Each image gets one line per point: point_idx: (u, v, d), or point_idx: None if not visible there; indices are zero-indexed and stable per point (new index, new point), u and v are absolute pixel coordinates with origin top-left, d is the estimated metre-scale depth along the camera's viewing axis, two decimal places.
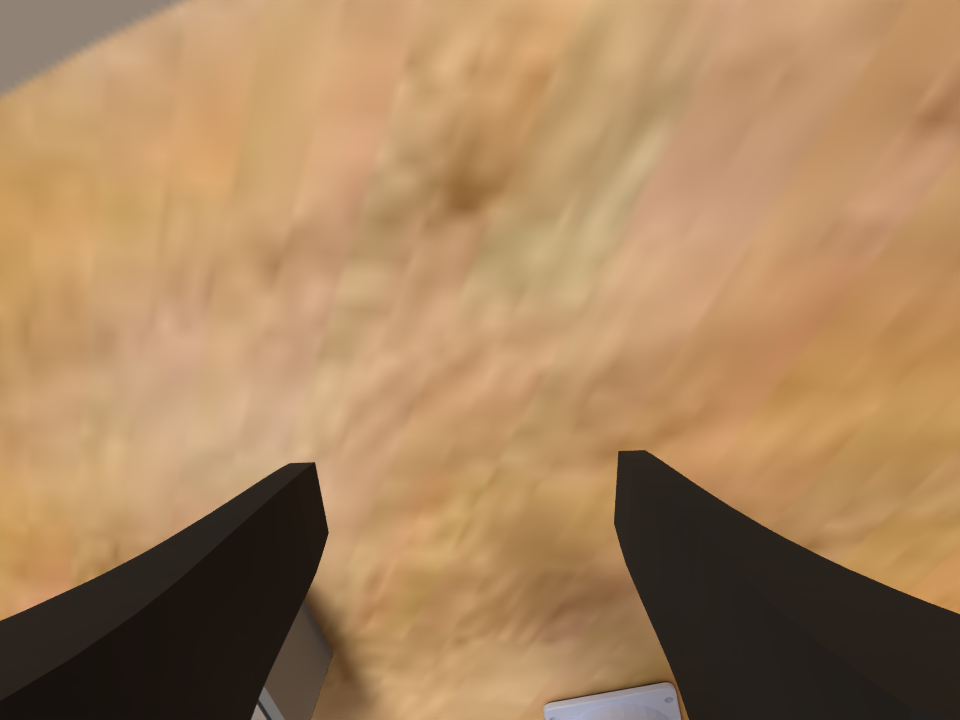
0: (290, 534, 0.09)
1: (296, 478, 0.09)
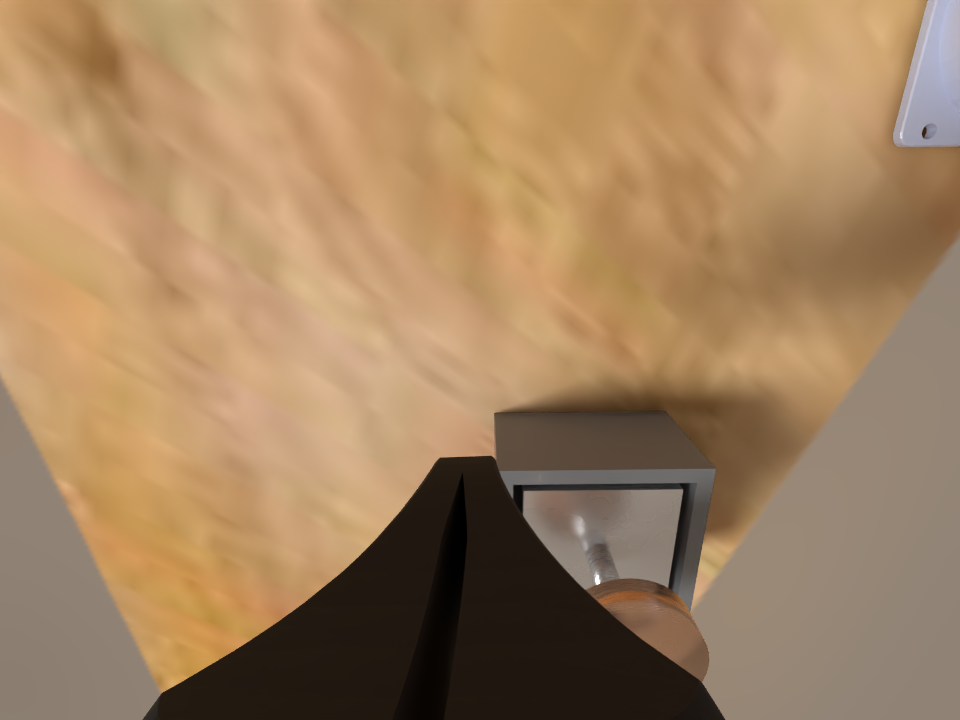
0: (462, 528, 0.09)
1: (463, 472, 0.09)
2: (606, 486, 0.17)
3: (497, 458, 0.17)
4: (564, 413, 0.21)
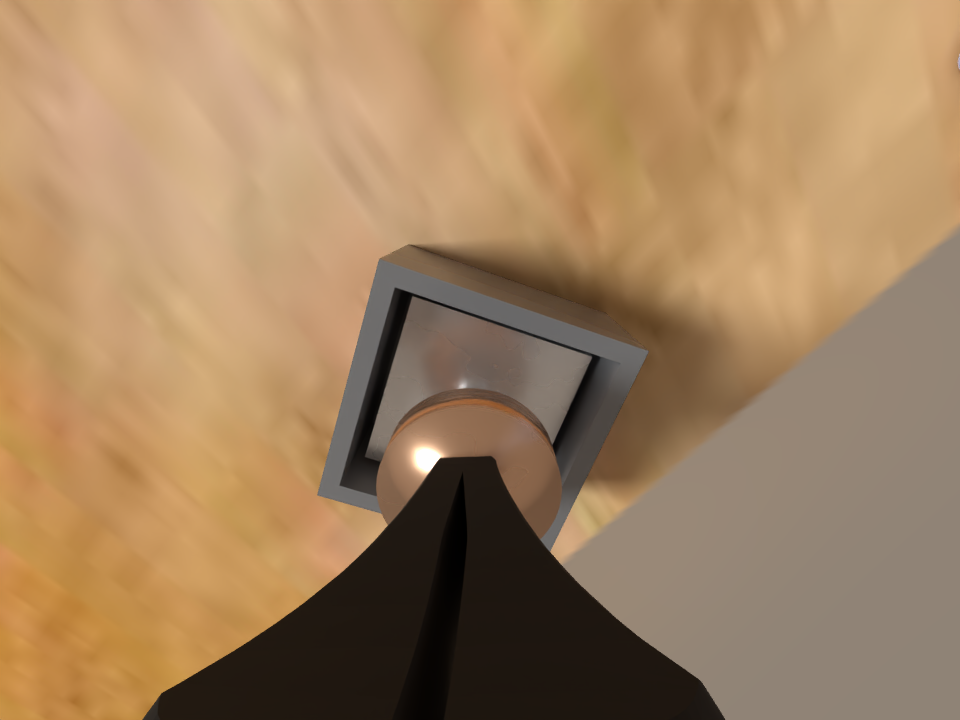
0: (462, 528, 0.09)
1: (463, 472, 0.09)
2: (509, 327, 0.14)
3: (387, 256, 0.13)
4: (491, 273, 0.17)
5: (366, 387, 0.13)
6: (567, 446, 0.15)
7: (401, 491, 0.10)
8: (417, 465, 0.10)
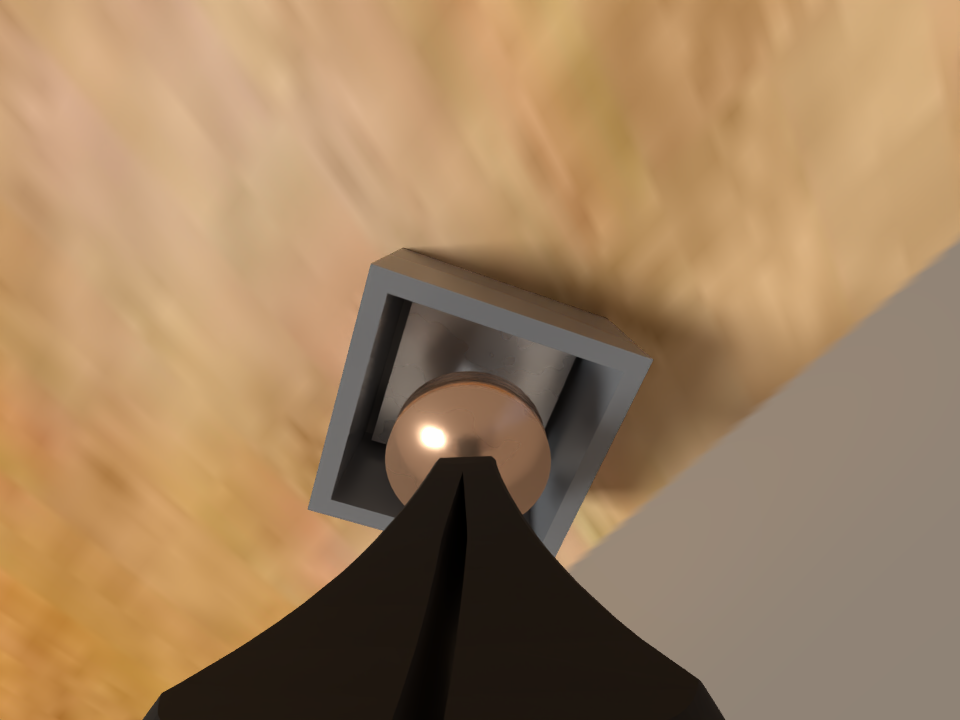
0: (462, 528, 0.09)
1: (463, 472, 0.09)
2: None
3: (379, 260, 0.12)
4: None
5: (358, 397, 0.13)
6: (568, 457, 0.14)
7: (407, 462, 0.12)
8: (422, 439, 0.12)
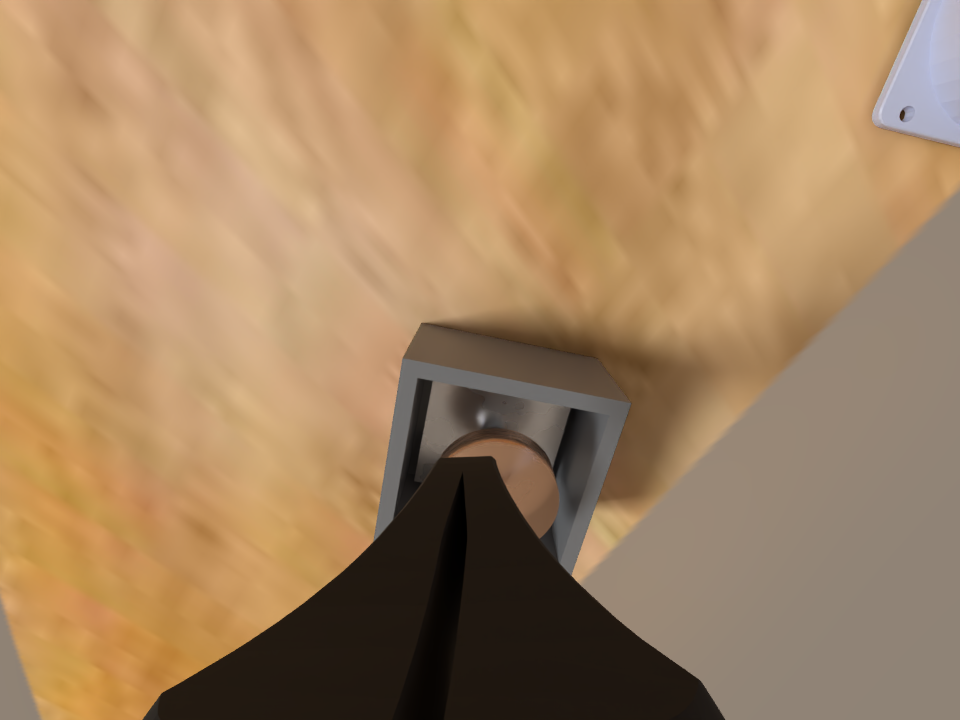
0: (462, 528, 0.09)
1: (463, 472, 0.09)
2: None
3: (408, 350, 0.16)
4: (494, 338, 0.20)
5: (403, 457, 0.16)
6: (576, 482, 0.18)
7: None
8: None
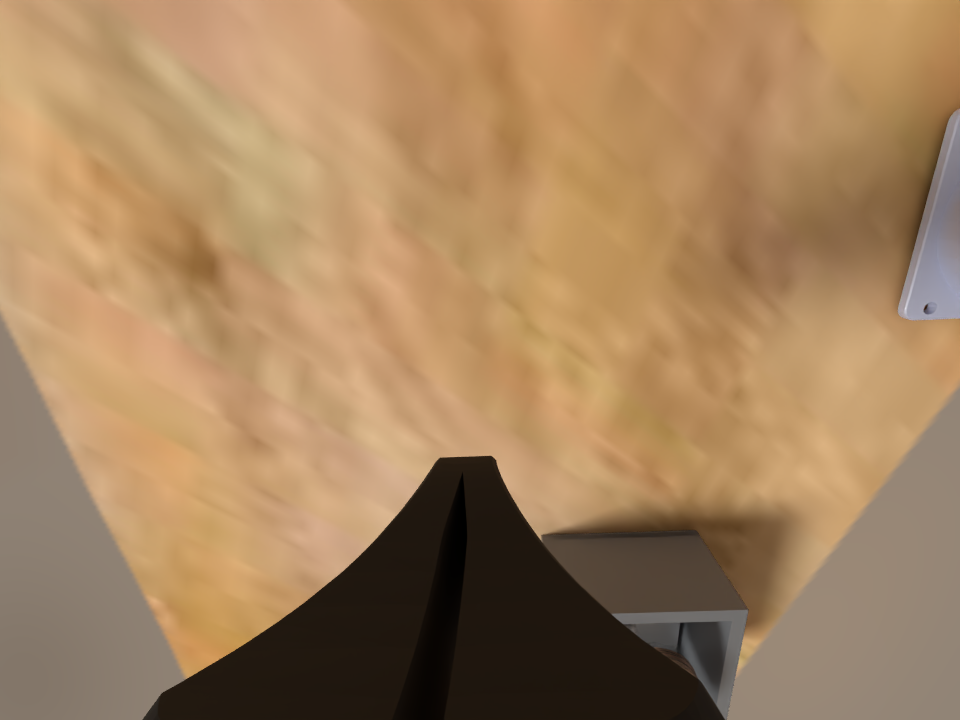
0: (462, 528, 0.09)
1: (463, 472, 0.09)
2: None
3: None
4: (604, 534, 0.23)
5: None
6: (709, 658, 0.21)
7: None
8: None
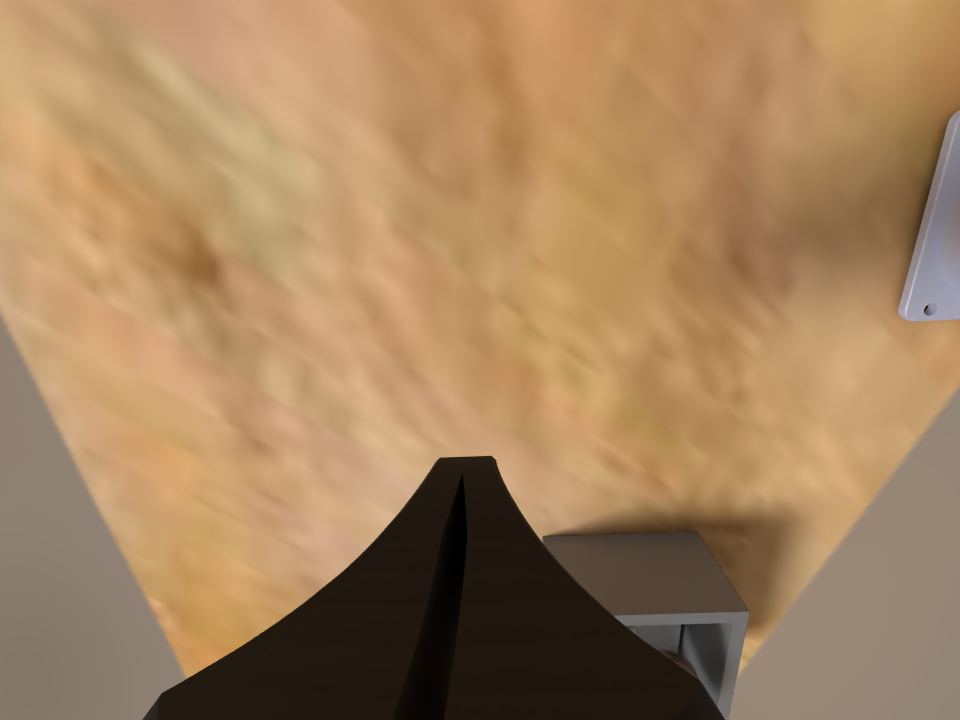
0: (462, 528, 0.09)
1: (463, 472, 0.09)
2: None
3: None
4: (606, 535, 0.23)
5: None
6: (710, 659, 0.21)
7: None
8: None
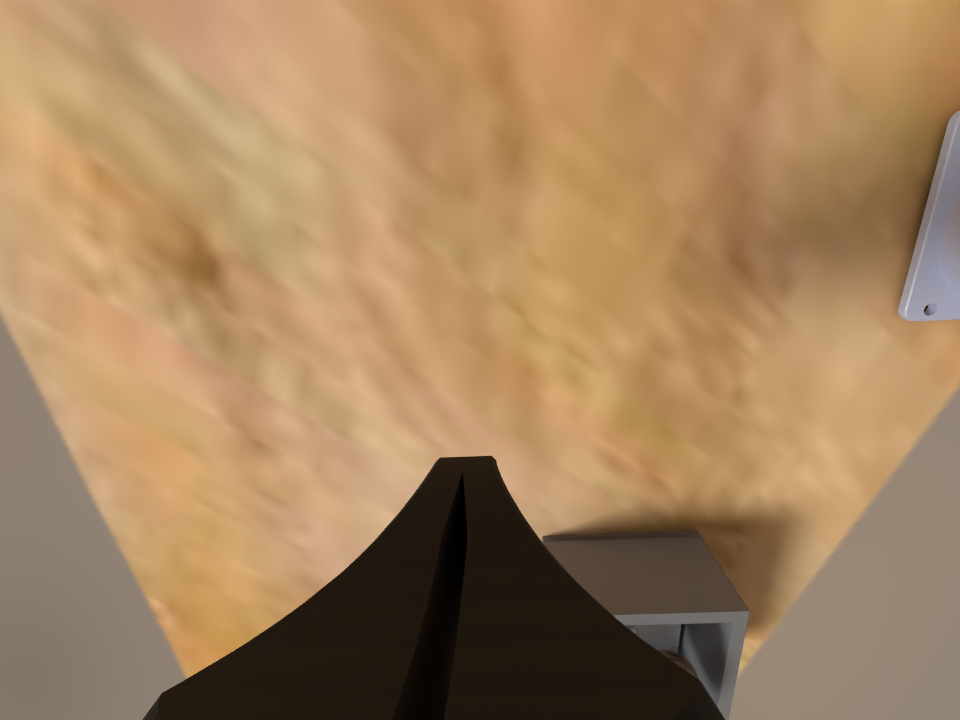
0: (462, 528, 0.09)
1: (463, 472, 0.09)
2: None
3: None
4: (605, 535, 0.23)
5: None
6: (710, 659, 0.21)
7: None
8: None
